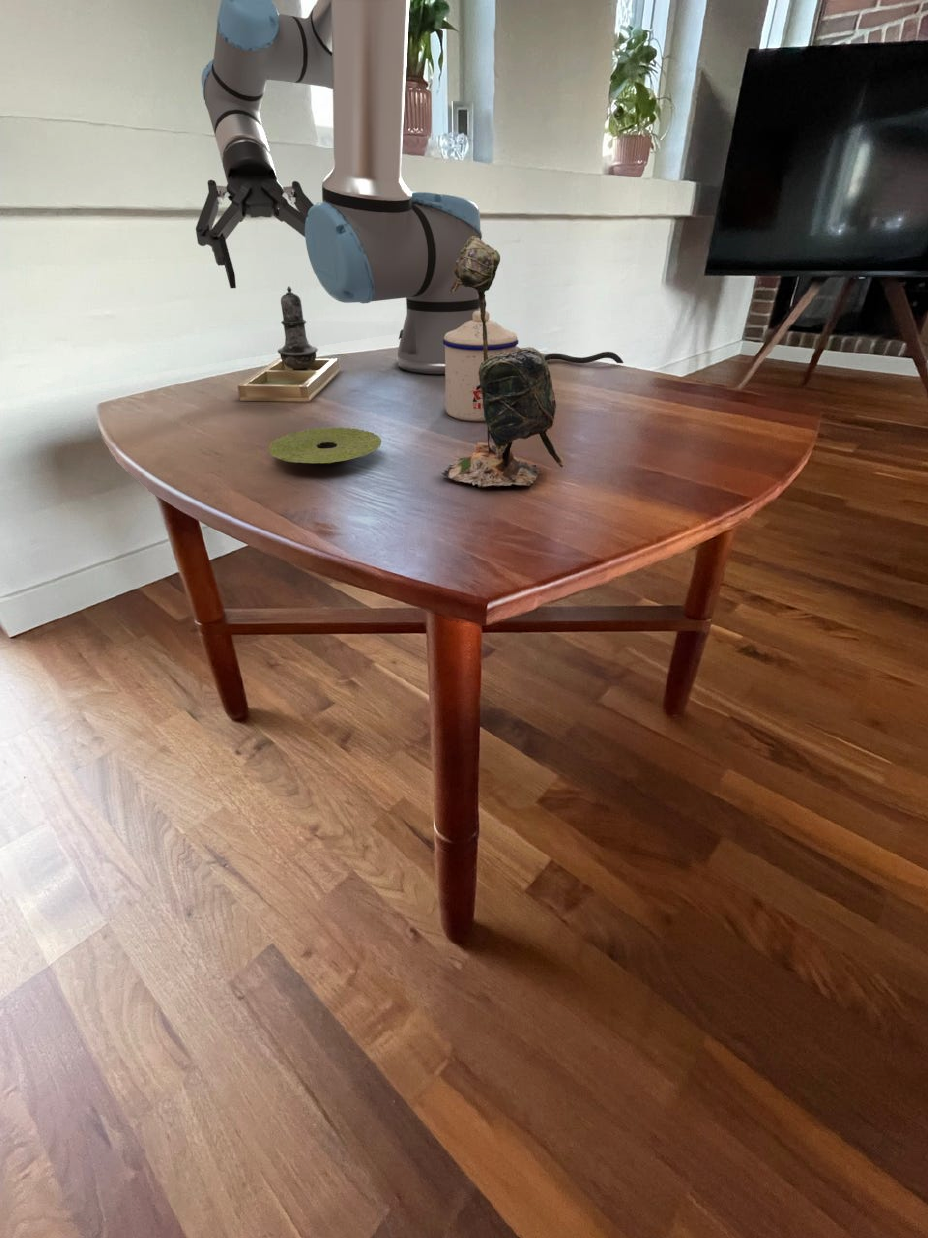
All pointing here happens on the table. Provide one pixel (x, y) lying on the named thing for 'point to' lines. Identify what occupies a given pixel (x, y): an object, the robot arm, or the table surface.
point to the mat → (324, 445)
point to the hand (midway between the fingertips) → (279, 279)
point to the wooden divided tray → (288, 382)
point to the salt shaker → (295, 335)
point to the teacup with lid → (471, 364)
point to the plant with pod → (503, 390)
